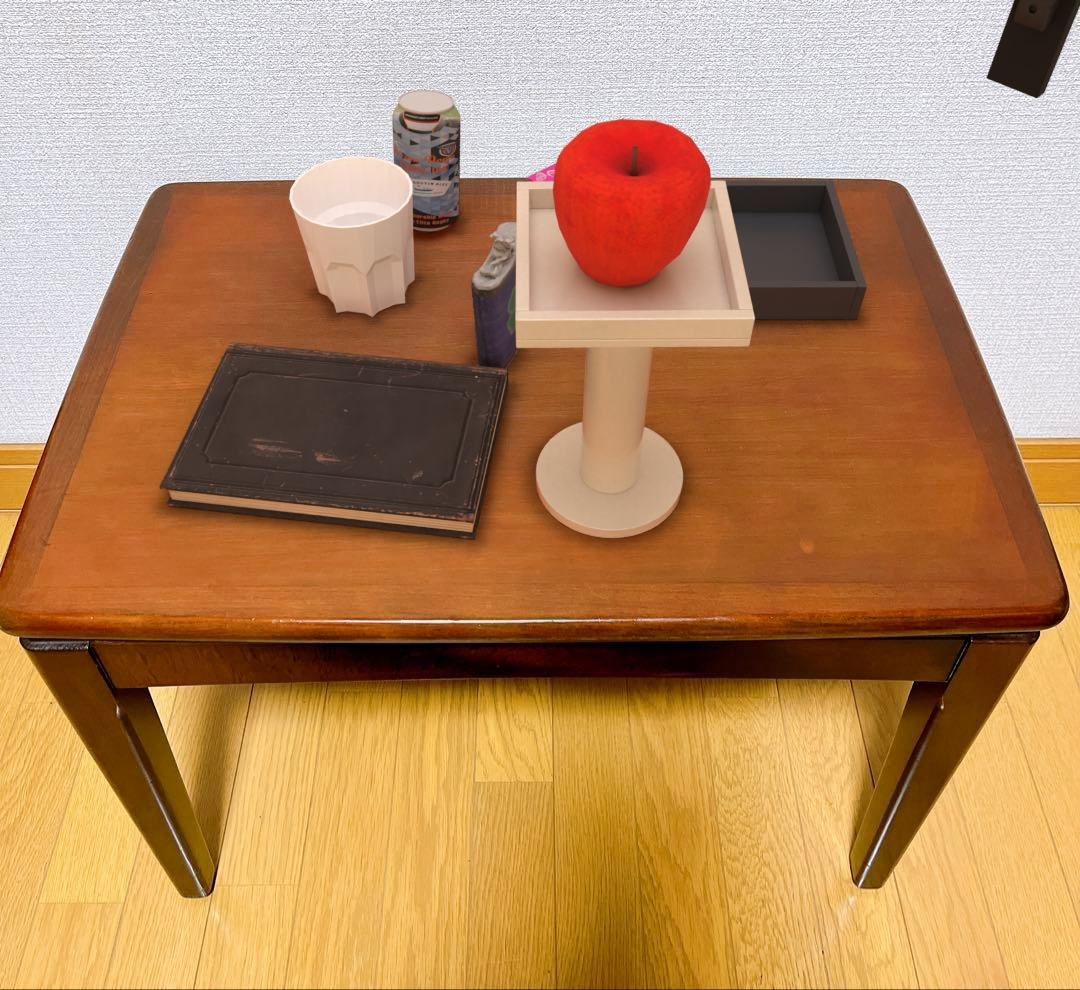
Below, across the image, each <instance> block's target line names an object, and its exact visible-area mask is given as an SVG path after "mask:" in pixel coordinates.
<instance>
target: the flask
mask: <svg viewBox="0 0 1080 990" xmlns="http://www.w3.org/2000/svg"><path fill="white" fill-rule="evenodd" d="M489 238H493V243H492V245H491V247H490V251H489V253H488V255H487V257H486V259H485V261H484V262H483V264H482V265H481V266H480V267H479V268H478V270H476V271H475V272H474V274H473V275H472V277H471V281H470V283H471V285H470V286H471V287H470V288H471V297H472V309H473V320H474V332H475V333H474V334H475V340H476V343H475V345H476V349H477V350H476V351H477V353H476V355H477V356H476V357H477V366H486V367H497V368H507V369H508V368H509V366H510V365H511V362H512V361H513V360H514V359H515V357H516V354H517V353H518V351H519V349H520V348H516V326H515V304H516V221H512V222H511V221H509V222H507V221H506V222H504V223H499V224H498V226H497V227H496V229H495V231H493V232H492V233H491V234H489Z"/></svg>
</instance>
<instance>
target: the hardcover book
mask: <svg viewBox="0 0 1080 990" xmlns="http://www.w3.org/2000/svg"><path fill="white" fill-rule="evenodd" d="M508 390H509V370H508V367H507V368H497V367H486V366H478V365H474V364H465V363H454V362H444V361H443V362H442V361H432V360H422V359H412V358H403V357H402V358H401V357H390V356H380V355H370V354H359V353H351V352H349V353H348V352H338V351H337V352H336V351H328V350H327V351H326V350H318V349H306V348H298V347H297V348H296V347H295V348H294V347H287V346H275V345H266V344H265V345H264V344H255V343H254V344H253V343H245V342H244V343H243V342H234V341H231V342H229V343H228V345H227V347H226V350H225V351H224V353H223V355H222V357H221V359H220V361H219V364H218V365H217V368H216V369H215V372H214V373H213V376H212V378H211V380H210V381H209V383H208V386H207V388H206V390H205V392H204V394H203V396H202V398H201V400H200V403H199V404H198V406H197V409H196V411H195V413H194V414H193V417H192V418H191V421H190V423H189V424H188V427H187V429H186V431H185V432H184V435H183V437H182V439H181V441H180V444H179V445H178V448H176V449H177V450H176V452H175V453H174V455H173V458H172V459H171V462H170V464H169V466H168V468H167V470H166V472H165V474H164V475H163V478H162V480H161V482H160V484H159V486H158V487H159V488H158V489H159V490H163V491H164V490H165V491H168V493H169V498H168V500H167V502H166V505H167V506H168V507H178V508H185V509H195V510H202V511H203V510H204V511H212V512H222V513H223V512H224V513H232V514H241V515H250V516H258V517H259V516H261V517H267V518H276V519H285V520H286V519H287V520H296V521H304V522H313V523H323V524H332V525H338V526H339V525H340V526H349V527H359V528H366V529H367V528H368V529H376V530H386V531H396V532H404V533H412V534H422V535H429V536H430V535H432V536H441V537H442V536H443V537H450V538H458V539H468V540H476V536H477V530H478V526H479V521H480V517H481V513H482V508H483V503H484V498H485V495H486V491H487V487H488V482H489V481H488V480H489V477H490V472H491V467H492V462H493V458H494V453H495V450H496V445H497V441H498V435H499V432H500V431H499V430H500V428H501V427H500V426H501V423H502V417H503V413H504V408H505V404H506V400H507V395H508Z"/></svg>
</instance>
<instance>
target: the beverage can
mask: <svg viewBox="0 0 1080 990" xmlns="http://www.w3.org/2000/svg"><path fill="white" fill-rule="evenodd" d="M391 117H392V118H391V119H392V120H391V121H392V123H391V125H392V147H393V148H392V151H393V164H395V165H397V166H399V167H401V168H402V169H403V170H404V171H405V172H406V173H407V174H408V175H409V177H410V179H411V181H412V193H413V230H416V231H421V232H438V231H442V230H444V229H446V228H448V227H449V226H450V225H452V224H453V223H455V222H457V220H458V219H459V217H460V209H461V208H460V206H461V205H460V204H461V201H460V200H461V198H460V197H461V196H460V195H461V194H460V193H461V192H460V191H461V114H460V112H459V110H458V108H457V107H456V105H455V100H454V98H453V97H452V96H451V95H449V94H447V93H446V92H442V91H439V90H432V89H417V90H416V89H415V90H411V91H407V92H404V93H403V94H401V95H400V96H399V97H398V100H397V104H396V106H395V108H394V109H393V111H392V116H391Z"/></svg>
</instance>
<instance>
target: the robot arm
mask: <svg viewBox="0 0 1080 990" xmlns="http://www.w3.org/2000/svg"><path fill="white" fill-rule="evenodd" d="M1079 9H1080V0H1013V2H1012V5H1011V7H1010V11H1009V13H1008V16H1007V19H1006V22H1005V24H1004V27H1003V30H1002V33H1001V36H1000V39H999V41H998V44H997V47H996V50H995V51H994V54H993V58H992V61H991V63H990V67H989V68H988V69H989V70H988V71H987V74H986V79H987V80H990V81H992V82H994V83H997V84H999V85H1001V86H1004V87H1007V88H1010V89H1012V90H1014V91H1017V92H1019V93H1021V94H1024V95H1027V96H1030V97H1032V98H1034V99H1038V98H1040V97H1041V96H1042V95H1044V94H1045V93H1046V91H1047V88H1048V85H1049V82H1050V81H1051V78H1052V76H1053V74H1054V71H1055V69H1056V66H1057V64H1058V61H1059V58H1060V57H1061V54H1062V51H1063V48H1064V46H1065V44H1066V41H1067V40H1068V37H1069V34H1070V31H1071V29H1072V28H1073V27H1072V26H1073V25H1074V22H1075V19H1076V17H1077V14H1078V12H1079Z"/></svg>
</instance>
